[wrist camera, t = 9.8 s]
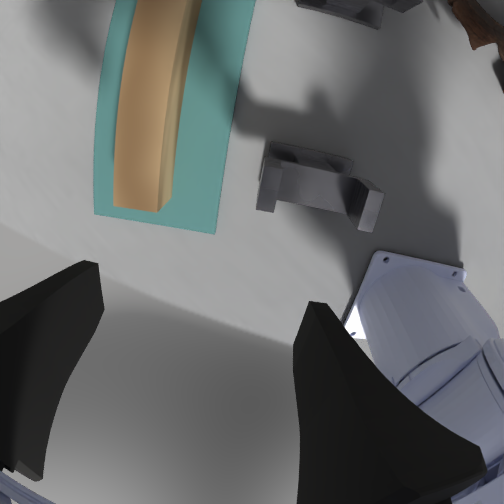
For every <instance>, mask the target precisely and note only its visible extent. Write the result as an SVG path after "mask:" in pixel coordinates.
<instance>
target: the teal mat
mask: <svg viewBox="0 0 504 504" xmlns="http://www.w3.org/2000/svg"><path fill="white" fill-rule="evenodd" d="M137 1H138V0H116V3H115V7H114V11H113V15H112V19H111V23H110V28H109V32H108V37H107V42H106V47H105V53H104V58H103V64H102V71H101V77H100V85H99V93H98V102H97V112H96V124H95V140H94V214H96V215H102V216H108V217H114V218H120V219H126V220H133V221H139V222H145V223H151V224H157V225H163V226H169V227H174V228H180V229H186V230H192V231H198V232H204V233H210V234H215V232H216V224H217V217H218V210H219V202H220V195H221V188H222V182H223V175H224V168H225V162H226V155H227V149H228V143H229V137H230V131H231V125H232V119H233V113H234V107H235V102H236V96H237V90H238V85H239V80H240V74H241V69H242V64H243V59H244V54H245V48H246V44H247V39H248V34H249V29H250V24H251V20H252V15H253V10H254V6H255V1H256V0H202V3H201V8H200V12H199V16H198V21H197V25H196V30H195V34H194V39H193V44H192V49H191V54H190V60H189V65H188V71H187V76H186V82H185V88H184V95H183V101H182V108H181V115H180V123H179V130H178V138H177V147H176V156H175V166H174V176H173V187H172V198H171V199H170V200H169V201H168V202H167V203H166V204H165V205H164V206H163V207H162V208H161V209H160V210H159V211H158V212H157V213H155V212H149V211H142V210H136V209H129V208H123V207H116V206H113V183H114V153H115V137H116V124H117V114H118V104H119V96H120V88H121V81H122V74H123V67H124V61H125V56H126V50H127V45H128V40H129V35H130V30H131V26H132V22H133V17H134V13H135V9H136V5H137Z"/></svg>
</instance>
